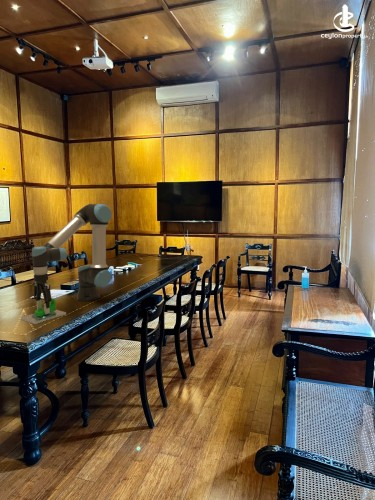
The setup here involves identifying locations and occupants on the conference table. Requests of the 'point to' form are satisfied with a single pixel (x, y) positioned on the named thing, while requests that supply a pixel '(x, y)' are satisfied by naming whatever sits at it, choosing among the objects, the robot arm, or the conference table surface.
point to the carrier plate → (42, 317)
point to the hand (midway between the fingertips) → (43, 312)
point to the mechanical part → (51, 307)
